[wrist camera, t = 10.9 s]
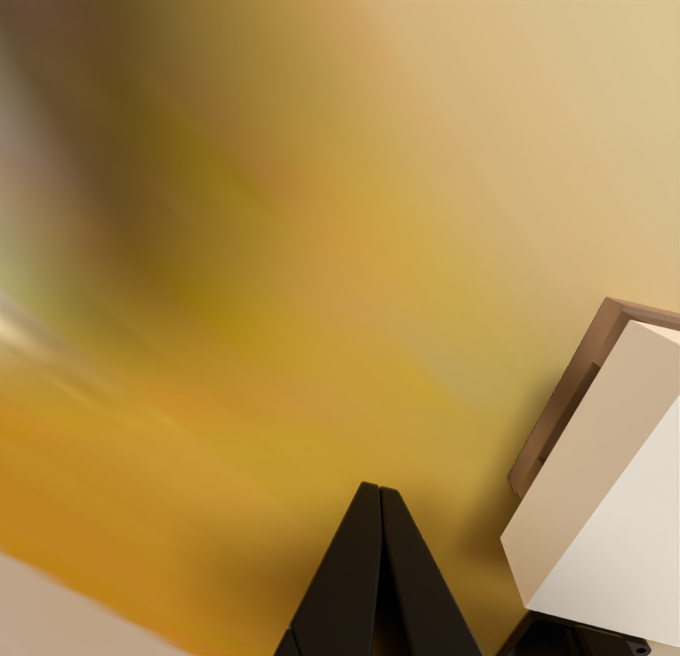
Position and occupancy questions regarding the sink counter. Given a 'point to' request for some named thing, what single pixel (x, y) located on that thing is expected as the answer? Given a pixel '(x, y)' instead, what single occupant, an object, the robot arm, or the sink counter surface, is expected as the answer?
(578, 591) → the sliding cap
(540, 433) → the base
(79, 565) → the sink counter surface
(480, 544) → the sink counter surface
